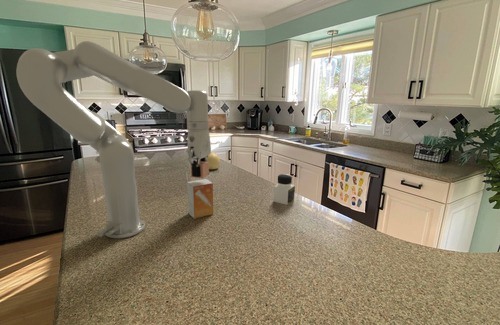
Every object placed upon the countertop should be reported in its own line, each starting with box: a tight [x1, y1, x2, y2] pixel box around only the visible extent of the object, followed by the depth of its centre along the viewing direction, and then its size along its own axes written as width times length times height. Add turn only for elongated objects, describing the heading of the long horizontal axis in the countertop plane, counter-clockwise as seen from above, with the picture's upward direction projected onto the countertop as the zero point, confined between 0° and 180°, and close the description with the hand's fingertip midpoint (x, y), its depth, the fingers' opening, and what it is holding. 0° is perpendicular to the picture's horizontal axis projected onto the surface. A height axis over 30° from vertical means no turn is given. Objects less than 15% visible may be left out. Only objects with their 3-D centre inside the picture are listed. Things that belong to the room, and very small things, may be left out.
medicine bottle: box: [272, 173, 296, 206], centre depth 114 cm, size 7×7×12 cm
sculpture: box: [207, 151, 221, 170], centre depth 165 cm, size 12×12×11 cm
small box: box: [186, 178, 214, 220], centre depth 100 cm, size 8×6×13 cm
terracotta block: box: [189, 160, 210, 179], centre depth 97 cm, size 5×5×5 cm
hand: (200, 173), depth 98 cm, fingers closed on terracotta block, 5 cm apart
